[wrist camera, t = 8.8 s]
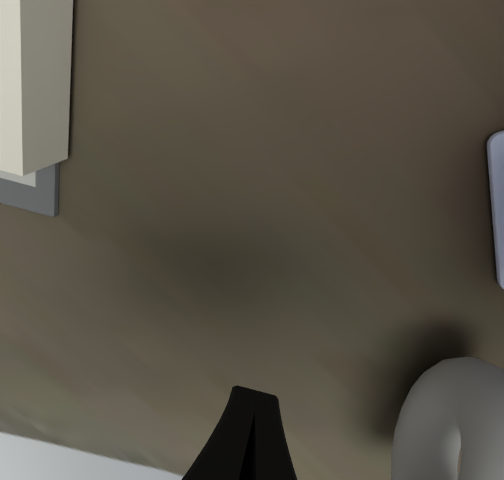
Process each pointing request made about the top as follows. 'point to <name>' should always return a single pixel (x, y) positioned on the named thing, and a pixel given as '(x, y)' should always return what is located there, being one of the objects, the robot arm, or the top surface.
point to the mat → (32, 190)
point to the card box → (34, 83)
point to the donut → (452, 424)
